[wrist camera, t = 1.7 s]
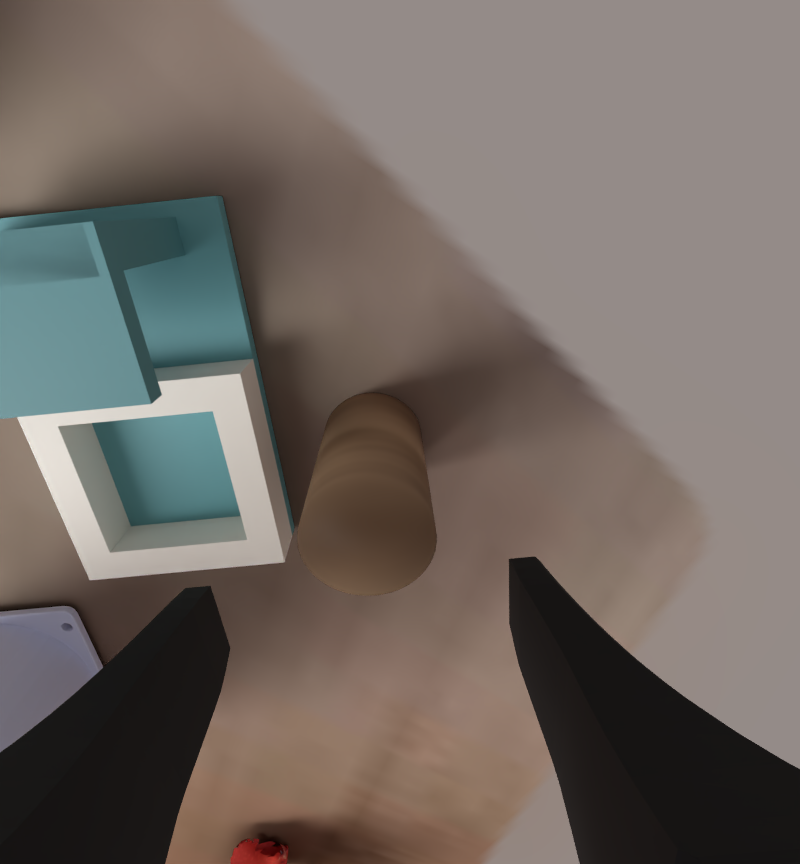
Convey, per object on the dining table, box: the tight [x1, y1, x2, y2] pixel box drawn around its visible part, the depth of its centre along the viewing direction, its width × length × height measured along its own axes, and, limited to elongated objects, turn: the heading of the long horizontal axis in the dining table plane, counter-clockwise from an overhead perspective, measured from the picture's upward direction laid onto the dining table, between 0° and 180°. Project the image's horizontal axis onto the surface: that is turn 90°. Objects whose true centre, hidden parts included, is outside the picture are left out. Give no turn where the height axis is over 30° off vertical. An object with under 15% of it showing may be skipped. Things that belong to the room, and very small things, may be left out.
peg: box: [297, 393, 437, 596], centre depth 18 cm, size 4×4×7 cm
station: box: [0, 196, 295, 580], centre depth 17 cm, size 14×8×6 cm, turn 5°
